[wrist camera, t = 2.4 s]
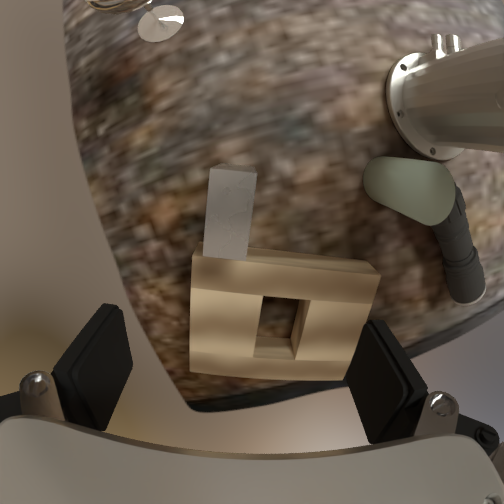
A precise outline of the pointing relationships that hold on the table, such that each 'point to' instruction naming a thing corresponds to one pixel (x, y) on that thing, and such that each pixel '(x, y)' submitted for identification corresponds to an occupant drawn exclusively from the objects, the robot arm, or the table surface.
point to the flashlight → (460, 255)
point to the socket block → (285, 286)
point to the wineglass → (145, 17)
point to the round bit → (411, 187)
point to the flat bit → (229, 211)
